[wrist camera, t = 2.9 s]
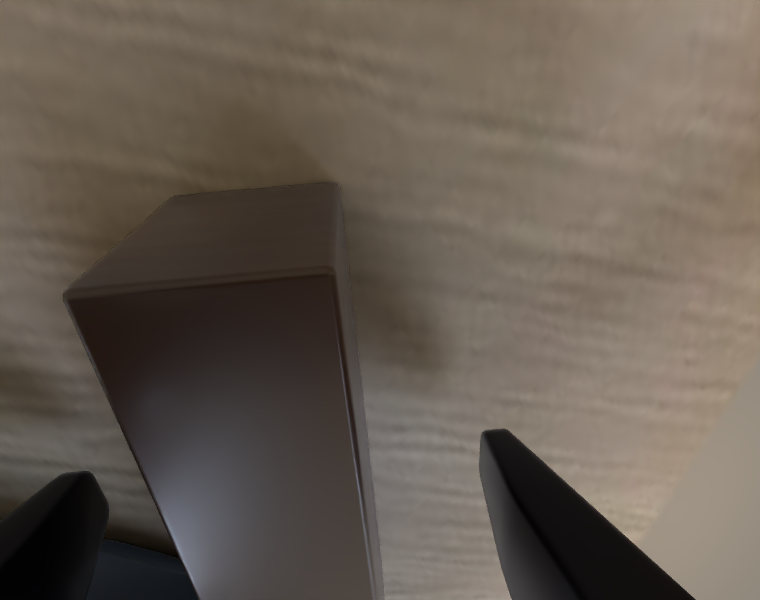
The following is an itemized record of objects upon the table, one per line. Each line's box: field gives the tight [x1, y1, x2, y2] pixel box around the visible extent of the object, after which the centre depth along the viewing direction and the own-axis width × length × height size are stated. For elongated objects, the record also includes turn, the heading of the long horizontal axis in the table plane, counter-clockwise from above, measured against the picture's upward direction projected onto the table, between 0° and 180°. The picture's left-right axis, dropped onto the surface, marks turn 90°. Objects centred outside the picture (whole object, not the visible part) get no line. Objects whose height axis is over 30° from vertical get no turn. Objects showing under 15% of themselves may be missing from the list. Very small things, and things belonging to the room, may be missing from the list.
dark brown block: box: [63, 182, 384, 600], centre depth 7 cm, size 2×9×3 cm, turn 4°
